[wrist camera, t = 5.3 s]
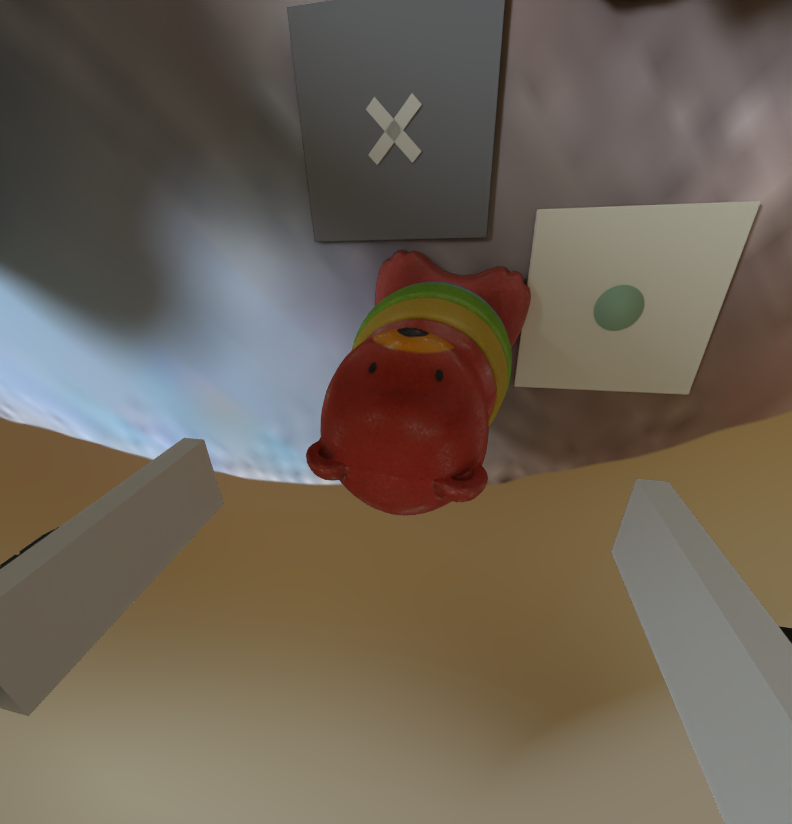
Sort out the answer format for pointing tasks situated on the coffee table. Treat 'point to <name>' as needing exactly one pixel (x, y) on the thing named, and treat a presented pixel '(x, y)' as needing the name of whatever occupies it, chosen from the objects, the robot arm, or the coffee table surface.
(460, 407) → the stacking bear
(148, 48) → the coffee table surface
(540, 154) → the coffee table surface
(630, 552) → the robot arm
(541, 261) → the pad
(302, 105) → the pad
